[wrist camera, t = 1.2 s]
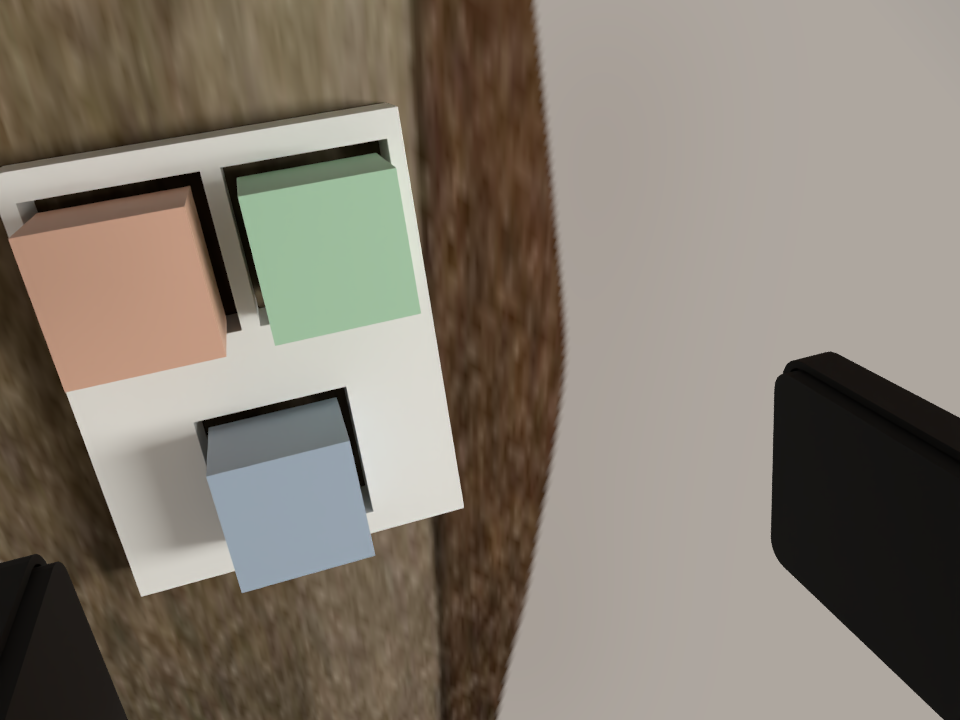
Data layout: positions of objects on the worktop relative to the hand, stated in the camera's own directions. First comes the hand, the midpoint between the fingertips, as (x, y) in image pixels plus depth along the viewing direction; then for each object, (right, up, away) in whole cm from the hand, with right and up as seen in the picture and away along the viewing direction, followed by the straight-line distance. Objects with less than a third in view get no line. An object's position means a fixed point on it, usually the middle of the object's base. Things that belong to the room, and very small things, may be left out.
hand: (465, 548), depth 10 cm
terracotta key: (-11, +5, +15) cm, 19 cm away
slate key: (-7, -1, +19) cm, 20 cm away
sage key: (-5, +6, +16) cm, 18 cm away
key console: (-8, +3, +19) cm, 21 cm away
